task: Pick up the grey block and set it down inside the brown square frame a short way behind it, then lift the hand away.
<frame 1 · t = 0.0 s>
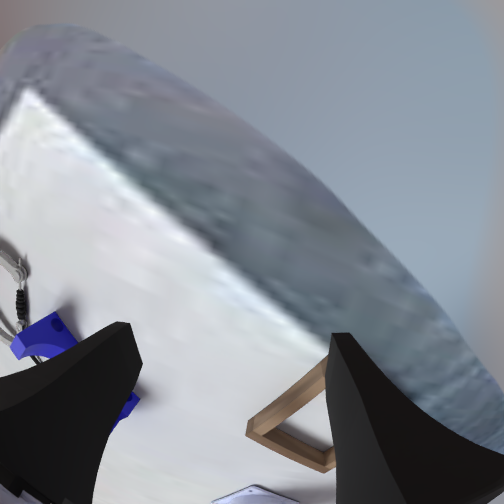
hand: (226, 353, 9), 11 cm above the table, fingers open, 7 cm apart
bike brake: (7, 293, 24), on the table
brown square frame: (326, 416, 22), on the table
cable clip: (89, 360, 24), on the table
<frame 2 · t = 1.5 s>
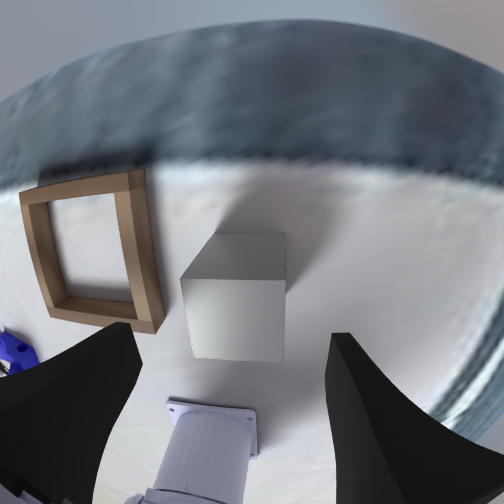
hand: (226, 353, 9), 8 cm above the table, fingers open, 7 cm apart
grey block: (250, 265, 17), on the table
brown square frame: (92, 249, 18), on the table
cable clip: (11, 342, 25), on the table
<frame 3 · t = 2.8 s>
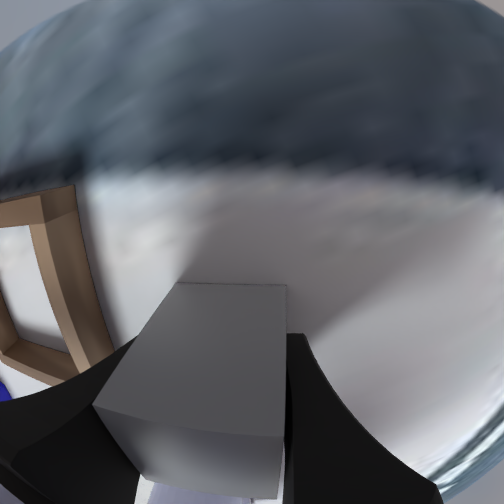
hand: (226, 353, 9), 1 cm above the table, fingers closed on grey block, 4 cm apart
grey block: (232, 330, 11), on the table, touching gripper
brown square frame: (31, 290, 12), on the table
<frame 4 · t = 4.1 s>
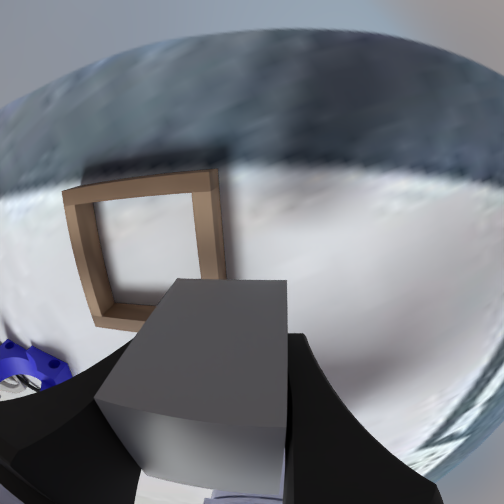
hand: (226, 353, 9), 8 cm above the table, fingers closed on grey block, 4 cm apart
grey block: (233, 325, 11), point 7 cm above the table, touching gripper
bike brake: (0, 354, 28), on the table
brown square frame: (149, 253, 18), on the table
cable clip: (38, 357, 25), on the table
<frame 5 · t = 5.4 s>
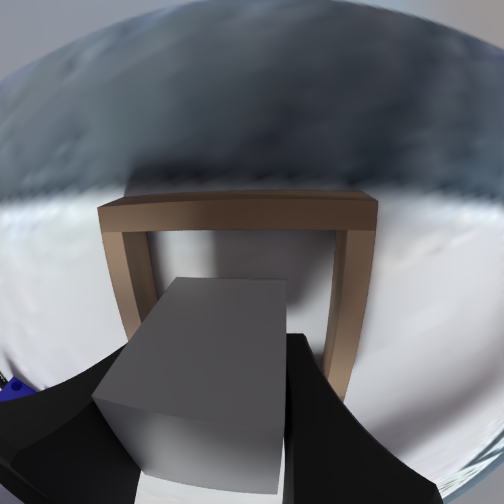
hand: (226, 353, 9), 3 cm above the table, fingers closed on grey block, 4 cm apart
grey block: (232, 324, 11), point 2 cm above the table, touching gripper
brown square frame: (240, 303, 13), on the table
cable clip: (54, 402, 20), on the table
when the fingers open (3 cm above the table, at t = 5.9 s): grey block drops 1 cm, resting in brown square frame.
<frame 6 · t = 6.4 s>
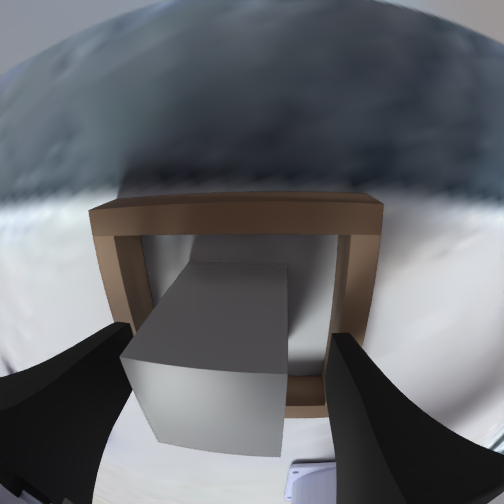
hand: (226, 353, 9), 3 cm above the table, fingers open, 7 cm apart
grey block: (238, 306, 12), resting in brown square frame
brown square frame: (238, 309, 12), on the table
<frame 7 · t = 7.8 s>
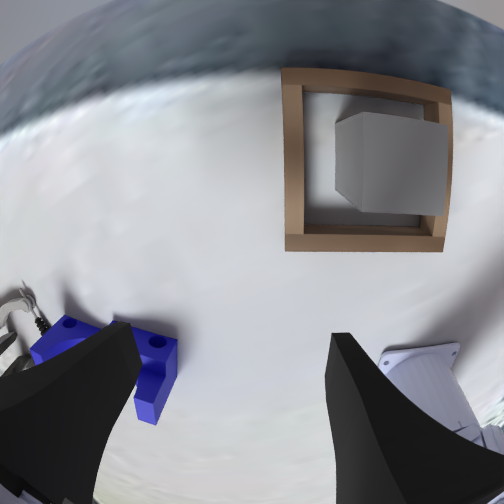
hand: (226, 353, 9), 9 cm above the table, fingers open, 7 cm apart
grey block: (367, 158, 15), resting in brown square frame
bike brake: (39, 339, 25), on the table
brown square frame: (367, 160, 15), on the table
cable clip: (117, 337, 23), on the table
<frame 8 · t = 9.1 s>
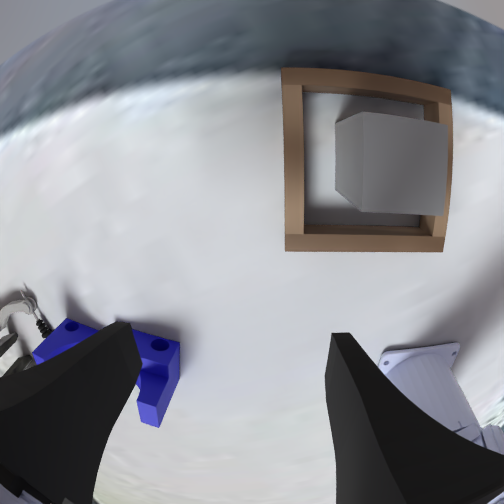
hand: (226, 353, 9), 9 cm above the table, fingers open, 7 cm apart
grey block: (367, 158, 15), resting in brown square frame
bike brake: (40, 341, 25), on the table
brown square frame: (367, 160, 15), on the table
cable clip: (119, 340, 23), on the table
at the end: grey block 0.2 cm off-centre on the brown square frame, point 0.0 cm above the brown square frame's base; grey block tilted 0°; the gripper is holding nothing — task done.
